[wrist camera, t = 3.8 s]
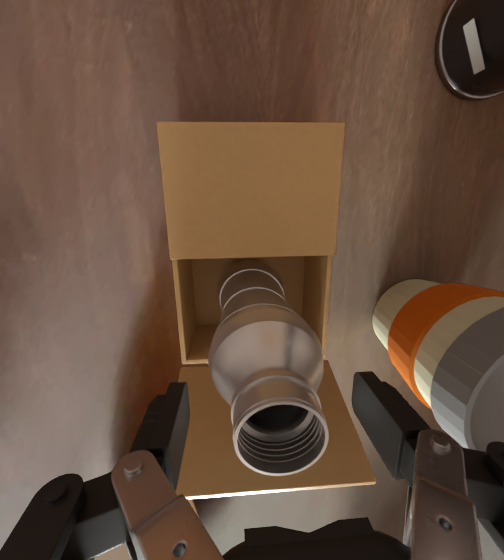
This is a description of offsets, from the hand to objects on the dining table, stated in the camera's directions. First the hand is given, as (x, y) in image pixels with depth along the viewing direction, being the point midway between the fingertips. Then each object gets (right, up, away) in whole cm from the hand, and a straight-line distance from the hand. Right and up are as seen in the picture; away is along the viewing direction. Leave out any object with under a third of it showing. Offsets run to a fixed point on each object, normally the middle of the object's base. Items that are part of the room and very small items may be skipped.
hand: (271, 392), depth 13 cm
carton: (-1, +9, +16) cm, 18 cm away
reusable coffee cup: (+18, +1, +20) cm, 26 cm away
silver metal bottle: (-1, +5, +17) cm, 18 cm away
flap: (0, -4, +7) cm, 8 cm away
